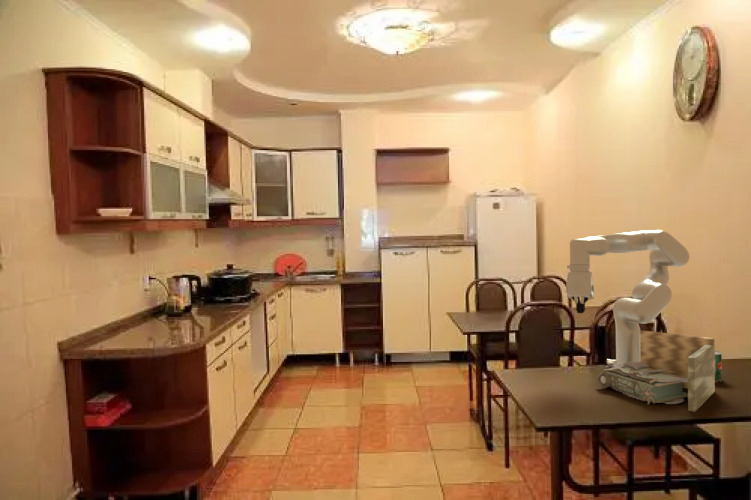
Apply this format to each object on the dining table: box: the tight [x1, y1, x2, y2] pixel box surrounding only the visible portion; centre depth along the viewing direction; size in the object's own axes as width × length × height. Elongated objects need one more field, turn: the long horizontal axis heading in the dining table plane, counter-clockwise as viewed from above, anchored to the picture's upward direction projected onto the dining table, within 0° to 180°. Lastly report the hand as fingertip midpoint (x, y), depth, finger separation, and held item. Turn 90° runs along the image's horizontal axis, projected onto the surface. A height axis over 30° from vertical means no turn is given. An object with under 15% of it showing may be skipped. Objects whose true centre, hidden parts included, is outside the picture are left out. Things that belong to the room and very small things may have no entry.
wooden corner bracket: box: [640, 330, 716, 413], centre depth 190 cm, size 25×28×20 cm
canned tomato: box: [715, 350, 723, 383], centre depth 207 cm, size 8×8×11 cm
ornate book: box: [596, 361, 688, 405], centre depth 192 cm, size 23×10×30 cm
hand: (580, 312), depth 214 cm, fingers closed
